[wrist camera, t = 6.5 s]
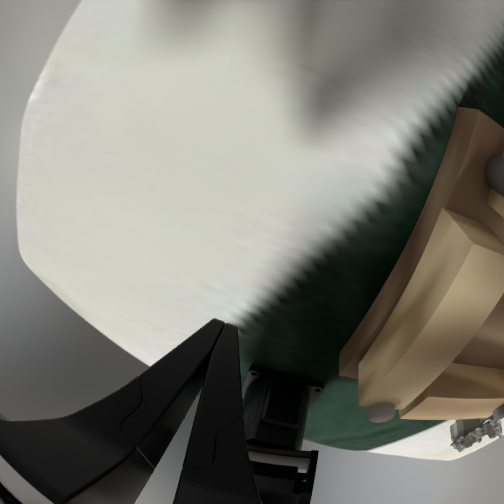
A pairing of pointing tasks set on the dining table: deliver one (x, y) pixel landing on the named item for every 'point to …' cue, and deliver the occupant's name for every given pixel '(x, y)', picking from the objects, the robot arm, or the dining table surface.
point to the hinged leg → (433, 314)
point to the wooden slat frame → (441, 195)
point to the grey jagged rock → (473, 431)
